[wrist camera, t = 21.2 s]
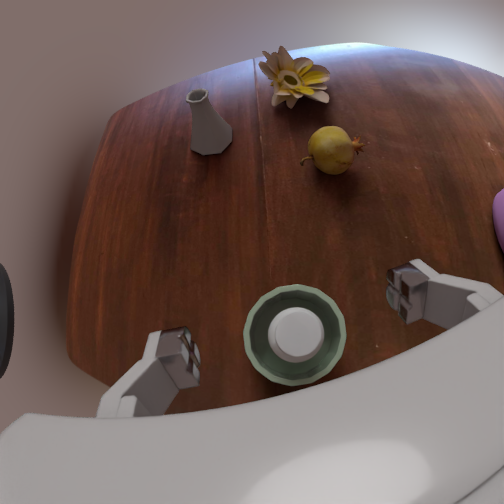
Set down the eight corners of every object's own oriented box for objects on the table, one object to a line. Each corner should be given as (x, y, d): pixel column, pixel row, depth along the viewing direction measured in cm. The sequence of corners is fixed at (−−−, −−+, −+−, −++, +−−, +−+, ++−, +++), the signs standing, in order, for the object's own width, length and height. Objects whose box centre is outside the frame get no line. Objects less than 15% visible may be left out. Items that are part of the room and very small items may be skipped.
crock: (276, 392, 30) (275, 403, 24) (235, 321, 33) (225, 316, 28) (349, 349, 31) (363, 350, 25) (307, 279, 34) (312, 266, 28)
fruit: (310, 170, 32) (379, 154, 32) (292, 123, 33) (359, 111, 33) (303, 187, 39) (363, 172, 39) (288, 146, 40) (347, 133, 40)
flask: (200, 122, 45) (185, 80, 35) (239, 126, 43) (229, 81, 34) (183, 153, 43) (163, 111, 33) (224, 159, 41) (210, 113, 32)
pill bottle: (266, 354, 31) (260, 359, 22) (274, 311, 33) (271, 298, 24) (311, 361, 30) (323, 369, 21) (319, 317, 32) (334, 307, 23)
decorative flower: (325, 123, 40) (316, 69, 31) (261, 120, 44) (243, 72, 36) (339, 80, 45) (332, 36, 36) (285, 79, 49) (273, 39, 41)
